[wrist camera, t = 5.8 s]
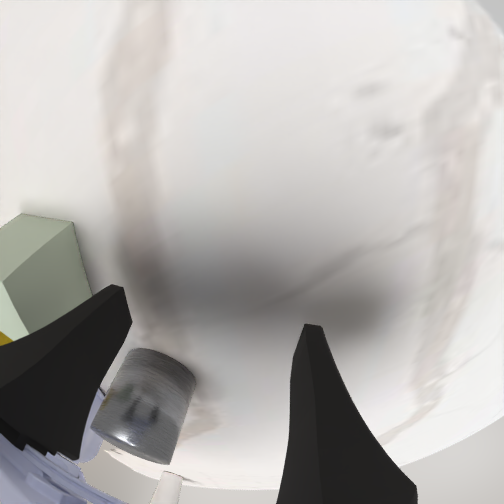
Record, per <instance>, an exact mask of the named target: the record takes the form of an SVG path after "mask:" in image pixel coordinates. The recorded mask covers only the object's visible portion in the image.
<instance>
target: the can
mask: <svg viewBox="0 0 504 504" xmlns="http://www.w3.org/2000/svg"><path fill="white" fill-rule="evenodd" d="M195 386H196V380H195V378H194V376H193V374H192V373H191V372H190V371H189V370H188V369H187V368H186V367H185V366H183V365H182V364H181V363H179V362H178V361H176V360H175V359H173V358H171V357H169V356H167V355H165V354H162V353H160V352H157V351H154V350H150V349H145V348H136V349H132V350H131V351H129V353H128V354H127V356H126V358H125V360H124V362H123V363H122V365H121V367H120V369H119V371H118V373H117V375H116V376H115V378H114V380H113V382H112V384H111V386H110V388H109V390H108V392H107V394H106V395H105V397H104V399H103V401H102V403H101V405H100V407H99V409H98V411H97V413H96V415H95V417H94V419H93V421H92V423H91V426H90V428H91V429H92V430H93V431H94V432H95V433H96V434H97V435H99V436H100V437H101V438H103V439H104V440H106V441H107V442H109V443H111V444H112V445H114V446H116V447H118V448H120V449H122V450H124V451H126V452H128V453H130V454H132V455H135V456H137V457H140V458H142V459H145V460H148V461H151V462H155V463H159V464H164V465H169V464H170V462H171V459H172V456H173V453H174V449H175V446H176V443H177V440H178V437H179V434H180V431H181V428H182V425H183V422H184V419H185V416H186V413H187V410H188V407H189V404H190V401H191V398H192V395H193V392H194V389H195Z"/></svg>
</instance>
